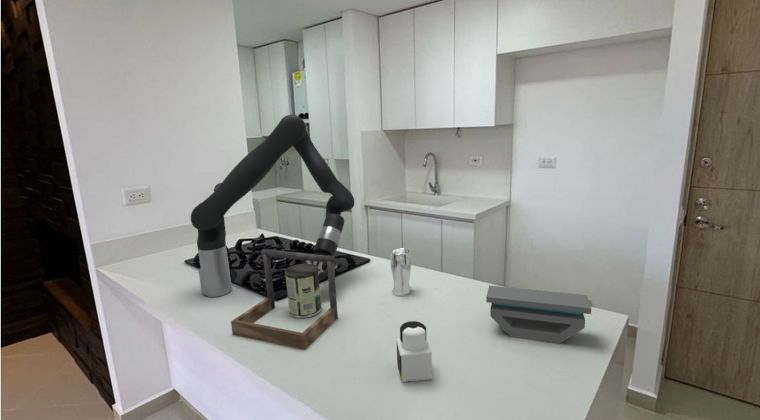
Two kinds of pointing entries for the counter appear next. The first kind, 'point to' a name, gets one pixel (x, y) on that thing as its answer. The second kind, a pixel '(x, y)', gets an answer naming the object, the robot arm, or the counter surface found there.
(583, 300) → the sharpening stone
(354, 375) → the counter surface
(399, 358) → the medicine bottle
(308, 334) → the frame
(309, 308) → the coffee can
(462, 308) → the counter surface
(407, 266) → the beer glass
